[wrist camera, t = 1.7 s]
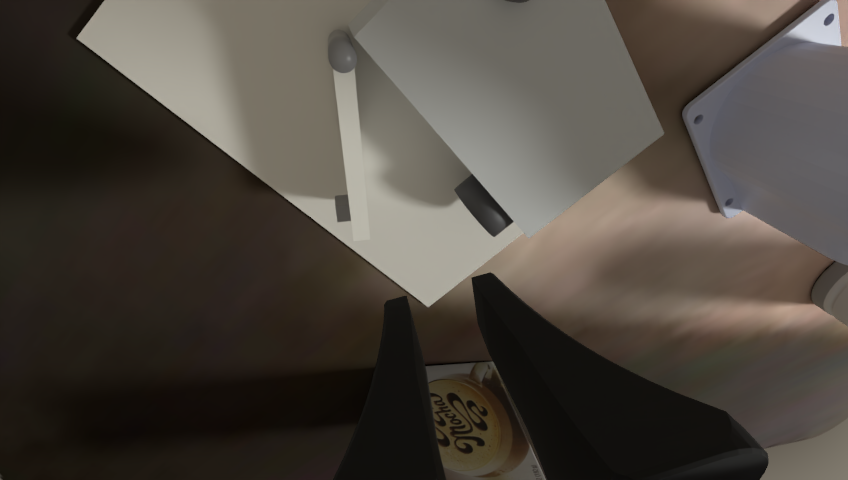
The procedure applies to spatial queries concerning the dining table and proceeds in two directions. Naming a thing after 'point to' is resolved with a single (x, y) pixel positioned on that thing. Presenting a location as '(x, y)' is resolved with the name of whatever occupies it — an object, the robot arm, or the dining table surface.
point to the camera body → (516, 96)
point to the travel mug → (833, 291)
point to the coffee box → (478, 425)
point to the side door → (349, 135)
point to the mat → (305, 123)
